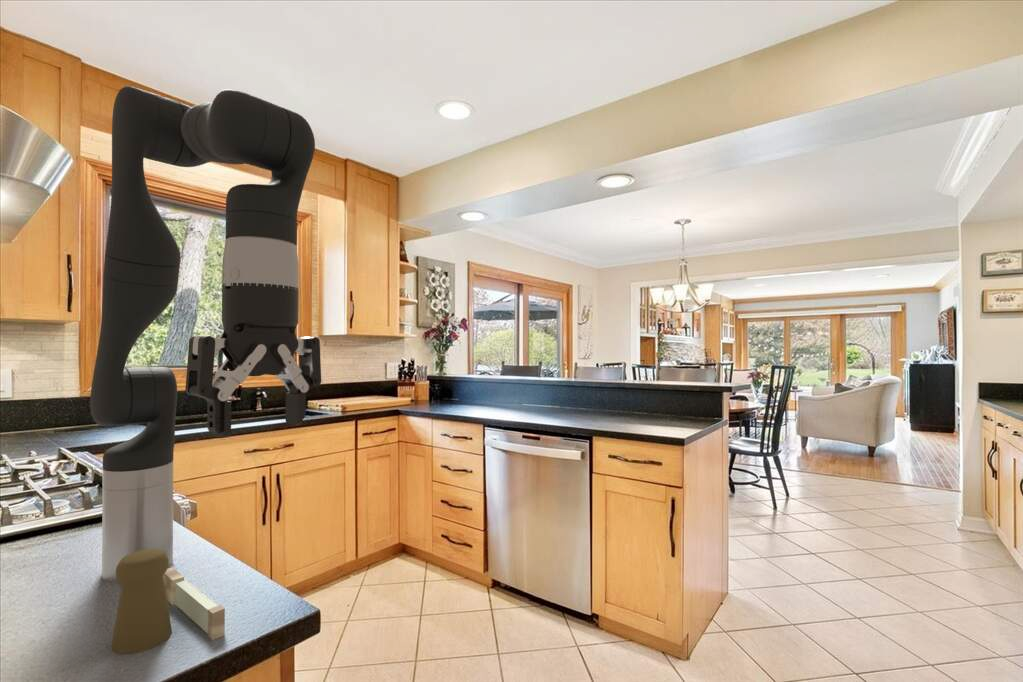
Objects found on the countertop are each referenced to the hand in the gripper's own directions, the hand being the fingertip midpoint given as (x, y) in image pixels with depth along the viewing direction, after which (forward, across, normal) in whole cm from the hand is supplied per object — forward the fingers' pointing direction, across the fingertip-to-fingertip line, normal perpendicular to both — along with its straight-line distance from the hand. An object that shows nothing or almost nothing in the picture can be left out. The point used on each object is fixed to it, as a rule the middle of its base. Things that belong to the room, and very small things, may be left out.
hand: (260, 430), depth 53 cm
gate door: (+28, -4, -24) cm, 37 cm away
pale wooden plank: (+28, -4, -24) cm, 37 cm away
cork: (+28, +3, -18) cm, 33 cm away
